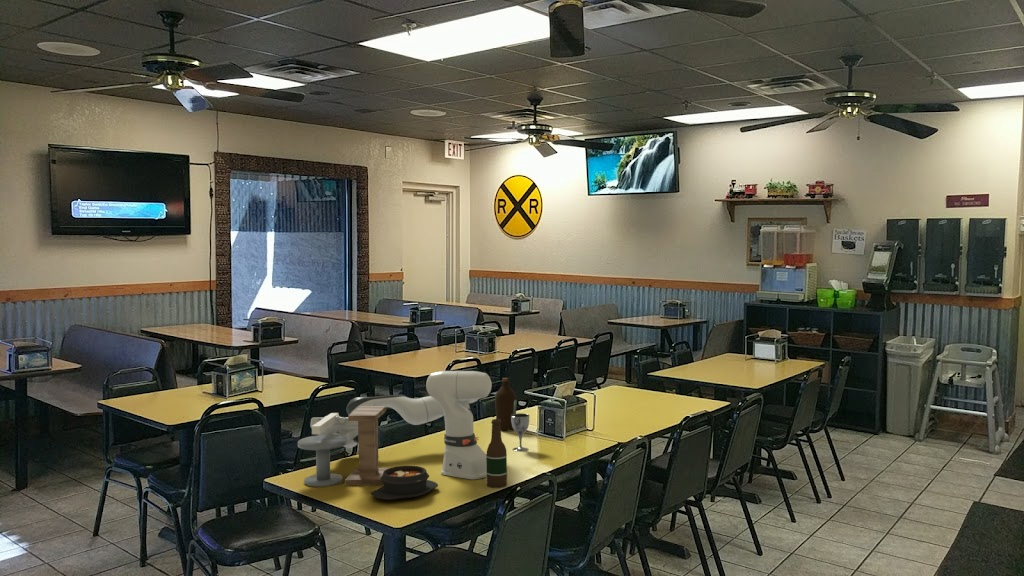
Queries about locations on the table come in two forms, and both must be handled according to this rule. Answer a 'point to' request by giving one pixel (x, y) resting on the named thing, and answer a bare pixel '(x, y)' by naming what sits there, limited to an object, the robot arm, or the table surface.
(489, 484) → the beer bottle
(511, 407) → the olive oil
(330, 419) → the bar
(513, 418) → the wine glass
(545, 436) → the table surface
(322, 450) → the cake stand
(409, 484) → the casserole
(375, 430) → the walnut stand
